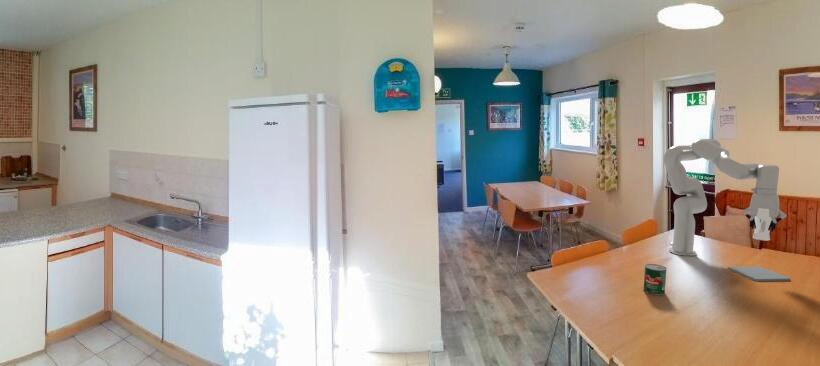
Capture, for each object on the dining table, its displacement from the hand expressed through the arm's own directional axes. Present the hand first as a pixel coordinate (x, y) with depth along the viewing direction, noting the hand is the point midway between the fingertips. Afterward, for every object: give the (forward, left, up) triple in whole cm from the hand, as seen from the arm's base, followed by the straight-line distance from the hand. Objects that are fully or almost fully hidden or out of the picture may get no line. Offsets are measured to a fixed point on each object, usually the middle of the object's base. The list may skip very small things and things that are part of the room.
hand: (762, 229), depth 188 cm
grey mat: (0, 0, -22) cm, 22 cm away
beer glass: (0, 0, -5) cm, 5 cm away
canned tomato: (+18, -60, -22) cm, 66 cm away
